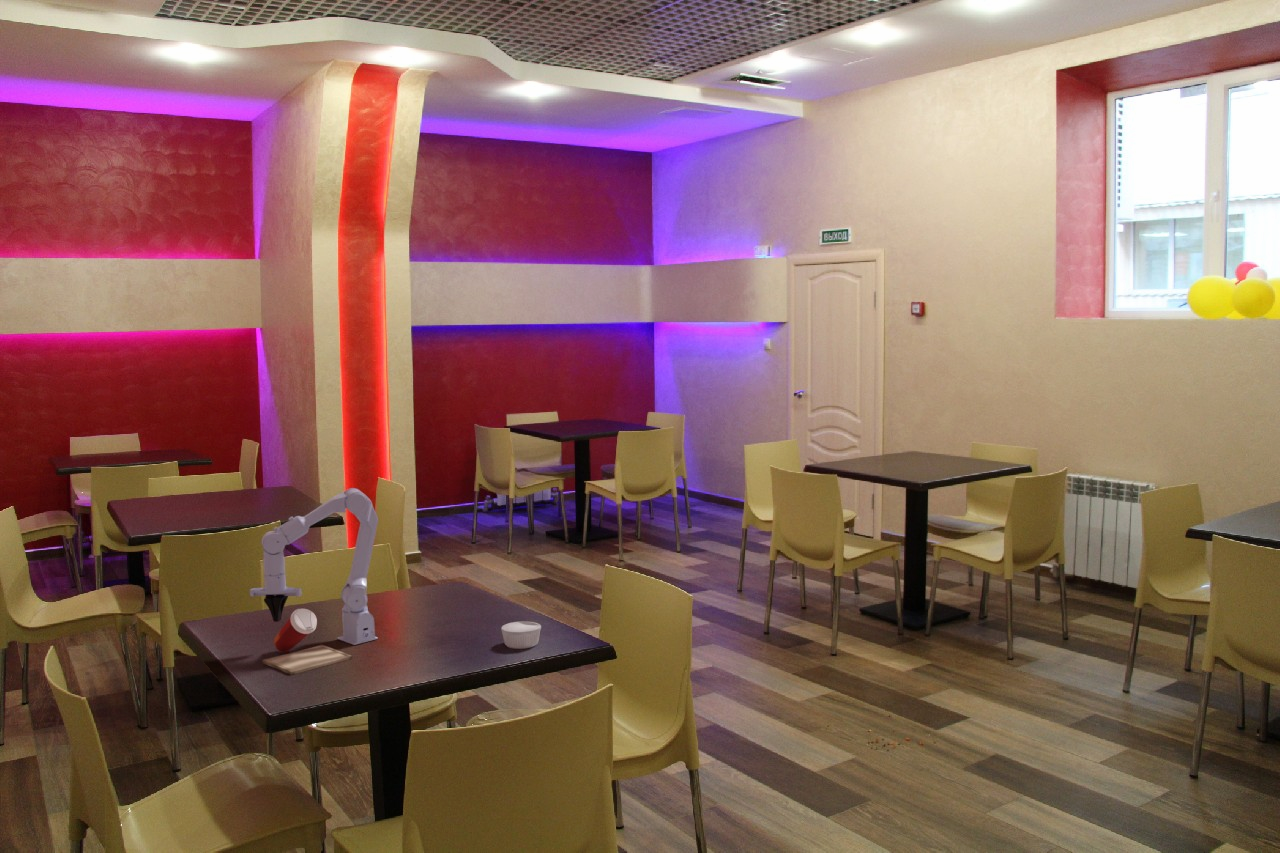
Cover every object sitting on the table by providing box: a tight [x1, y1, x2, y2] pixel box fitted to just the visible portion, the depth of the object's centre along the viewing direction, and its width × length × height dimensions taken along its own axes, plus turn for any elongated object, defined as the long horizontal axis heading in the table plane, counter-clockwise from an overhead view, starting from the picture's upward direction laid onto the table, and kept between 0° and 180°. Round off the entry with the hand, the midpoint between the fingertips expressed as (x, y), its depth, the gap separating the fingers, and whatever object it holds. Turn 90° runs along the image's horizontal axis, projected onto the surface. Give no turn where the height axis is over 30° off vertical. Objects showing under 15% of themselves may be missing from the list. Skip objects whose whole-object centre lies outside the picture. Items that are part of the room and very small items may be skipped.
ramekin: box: [500, 621, 542, 650], centre depth 299 cm, size 11×11×5 cm
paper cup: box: [273, 608, 318, 653], centre depth 294 cm, size 8×8×14 cm
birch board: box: [262, 644, 353, 676], centre depth 288 cm, size 16×18×1 cm
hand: (277, 620), depth 299 cm, fingers closed
